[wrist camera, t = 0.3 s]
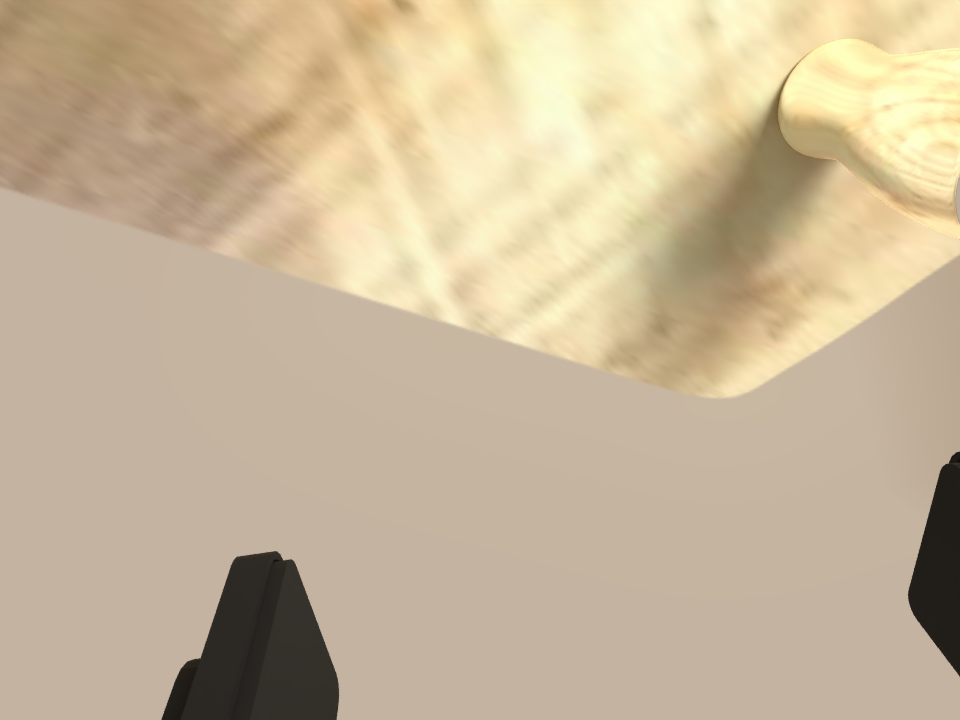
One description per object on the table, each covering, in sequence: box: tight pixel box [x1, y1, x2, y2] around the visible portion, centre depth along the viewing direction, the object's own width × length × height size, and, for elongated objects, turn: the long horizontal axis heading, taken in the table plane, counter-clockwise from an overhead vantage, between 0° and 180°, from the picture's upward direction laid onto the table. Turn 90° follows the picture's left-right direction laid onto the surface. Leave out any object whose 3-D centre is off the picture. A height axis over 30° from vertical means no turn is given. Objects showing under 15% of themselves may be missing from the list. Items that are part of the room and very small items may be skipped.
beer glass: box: [778, 39, 960, 240], centre depth 31 cm, size 7×7×15 cm
